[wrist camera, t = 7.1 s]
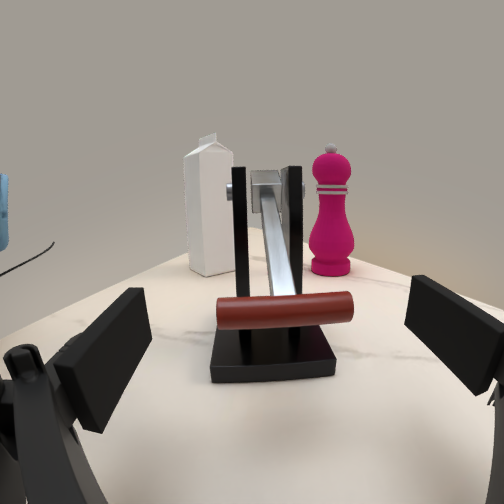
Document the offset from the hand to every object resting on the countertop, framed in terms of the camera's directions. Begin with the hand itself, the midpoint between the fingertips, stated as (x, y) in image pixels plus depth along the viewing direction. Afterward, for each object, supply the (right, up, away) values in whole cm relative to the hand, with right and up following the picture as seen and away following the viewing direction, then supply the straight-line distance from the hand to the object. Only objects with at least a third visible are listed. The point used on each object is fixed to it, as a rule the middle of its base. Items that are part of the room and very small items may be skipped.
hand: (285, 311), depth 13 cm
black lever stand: (0, -5, +12) cm, 13 cm away
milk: (-8, 0, +35) cm, 36 cm away
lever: (0, +3, +5) cm, 6 cm away
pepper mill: (+11, 0, +32) cm, 34 cm away
